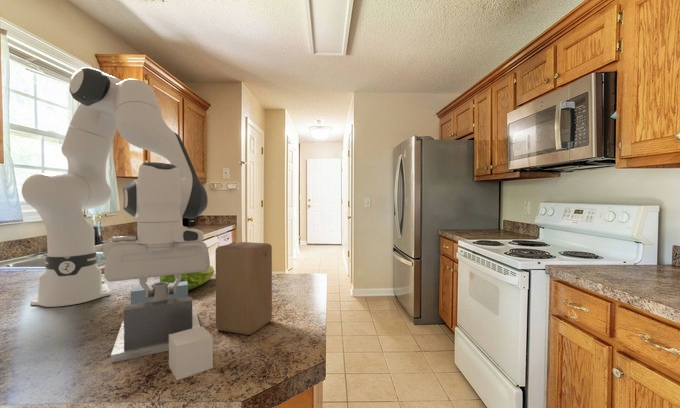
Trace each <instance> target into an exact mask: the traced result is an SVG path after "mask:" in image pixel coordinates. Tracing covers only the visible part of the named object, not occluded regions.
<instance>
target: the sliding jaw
mask: <svg viewBox="0 0 680 408" xmlns="http://www.w3.org/2000/svg"><path fill="white" fill-rule="evenodd" d="M173 284H174V283H169V285H168V296H169V300H170V299H177V298H184V297H189V290H188V283H187V281H184V282H179V284H178V285H177V286H176V294H172V295H169V286H170V285H173ZM152 285H153V284H151V285H148V287H149V288H152ZM152 298H153V297H150V298H146V290H144V289H143V287H142V286H141V285H140V286H135V287H132V288H131V290H130V305H134V304H141V303H148V302H152Z"/></svg>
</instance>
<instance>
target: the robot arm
mask: <svg viewBox="0 0 680 408" xmlns="http://www.w3.org/2000/svg"><path fill="white" fill-rule="evenodd" d="M69 94H70V95H71V97H72V99H74V100H75V101H77V102H78V103H79V105H78V106H77V108H76V109H75V112H74V113H73V116H72V118H71V120H70V123H69V126H68V128H67V131H66V134H65V136H64V140H63V142H62V145H61V153H62V154H63V156H64V157H65V158H66V160H67V169H68V170H67V173H65V172H64V173H63V172H53V171H52V172H41V173H36V174H33V175H30V176H29V177H27V178H26V179H25V181H24V182H23V183H22V186H21V196H22V198H23V200H24V201H25V202H26V204H28V205H30V206H31V207H32V208H34V209H35V210H36V211H37V213H38V214H39V217H40V219H41V220H42V222H43V224H44V228H45V231H46V242H47V244H46V247H47V255H46V256H45V261H44V265H45V266H44V267H45V269H46V270H45V271H44V272H43V273H41V274H40V275H39V277H38V287H37V289H38V290H37V298H35V299H33V300H31V301H30V305H31V306H41V307H46V308H50V307H54V308H55V307H56V308H57V307H64V306H70V305H71V306H72V305H78V304H82V303H86V302H90V301H94V300H96V299H100V298H103V297H104V298H105V297H107V296H110V295H111V291H110V289H109V286H108V284H107V283H105V280H106V281H107V282H111V283H112V282H119V281H130V280H138V281H139V285H140V287H141V286H142V287H143V289H144V290H146V298H150V297H153V288H149V287H148V286H149V285H148V284H147V282H148V278H156V277H158V278H159V277H160V276H167V275H174V278H175V279H176V280H175V282H174V284H173V285H170V286H169V295H172V294H176V286H177V285H178V284H179V282H180V280H181V274H185V273H194V272H203V271H207V270H208V269H209V267H210V266H211V261H210V255H209V254H210V252H209V250H208V249H209V248H208V246H207V244H206V243H205V242H204V241H203V240H204V237H205V235H204V232H203V231H202V230H199V229H198V228H197V229H196V228H193V227H190V226H184V225H183V219H196V218H197V217H199V216H200V215H201V214H203V212H204V211H205V210H206V209H207V206H208V200H209V199H208V194H207V190H206V188H205V186H204V185H203V183H202V182H201V180H200V179H199V177H198V174H197V172H196V170H195V168H194V165H193V162H192V161H191V159H190V158H191V157H190V155H189V154H188V151H187V148H186V146H185V144H184V142H183V140H182V138H181V136H180V135H179V134H178V133H176V132H175V131H173V129H171V128H170V127H169V126H168V124H167V123H166V122H165V120H164V119H163V115H162V111H161V110H162V109H161V107H160V103H159V101H158V98H157V95H156V93H155V92H154V89H153V88H152V87H151V86H150V85H149V84H148V83H147V82H145V81H143V80H141V79H138V78H137V79H135V78H127V79H124V80H122V79H120V78H118V77H116V76H112V75H111V74H110V75H109V74H107V73H104V72H102V71H101V70H99V69H97V68H94V67H90V66H84V67H80V68H78V69H76V71H75V72H74V73H73V75H72V76H71V77H70V80H69ZM116 132H118V134H119V135H120V137H121V138H123V139H124V141H126V142H127V143H129V144H130V145H132V146H134V147H136V148H139V149H142V150H144V151H145V150H146V151H148V152H151V153H154V154H156V155H159V156H161V157H163V158H164V159H166V160H167V161H168V162H169V163H165V162H154V161H153V162H151V161H150V162H149V161H147V162H143V163H141V164H140V165H139V168H138V174H137V178H136V179H133V180H131V181H129V182H128V183H127V184H125V186H123V187H122V188H123V189H122V190H123V191H122V192H123V210H124V211H125V212H126V213H127V214H129V215H130V216H131V217H133V218H136V219H137V220H136V228H137V229H136V232H137V233H136V235H125V236H117V235H116V236H112V237H111V238H108V239H107V240H105V241H104V243H103V244H102V254H103V256H104V258H106V259H105V263H104V271H103V272H104V276H103V278H104V279H105V280H104V279H102V275H103V274H102V269H100V267H99V266H98V265H97V263H98V255H97V252H96V249H95V247H96V246H95V243H96V240H95V234H96V233H95V228H94V226H93V225H92V224H90V223H89V222H88V221H87V220H86V217H85V215H84V212H83V210H90V209H91V210H92V209H94V208H99V207H102V206H104V205H105V204H107V203H108V202H109V200H111V199H110V198H111V196H112V190H111V186H110V184H108V182H107V178H106V177H107V175H106V169H107V168H106V167H107V161H108V157H109V155H110V151H111V148H112V145H113V142H114V140H115V136H116Z"/></svg>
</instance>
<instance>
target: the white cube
mask: <svg viewBox="0 0 680 408" xmlns="http://www.w3.org/2000/svg"><path fill="white" fill-rule="evenodd" d="M213 339H214V337H213V335H212V334H211V333H210V332H209V330H208V329H206V328H205V327H204V326H203V325H200V327H197V328H193V329H189V330H185V331H181V332H177V333H173V334H169V351H168V367H169V369H170V371H171V373H172V374H173V376H174V377H175V379H176V381H178V380H181V379H186V378H188V377H191V376H193V375H197V374H199V373H202V372H205V371H207V370H211V369H213V368H214V367H213V365H214V361H213V359H214V357H213V355H214V354H213V353H214V352H213V351H214V349H213V348H214V347H213V346H214V345H213V344H214V342H213V341H214V340H213Z"/></svg>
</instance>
